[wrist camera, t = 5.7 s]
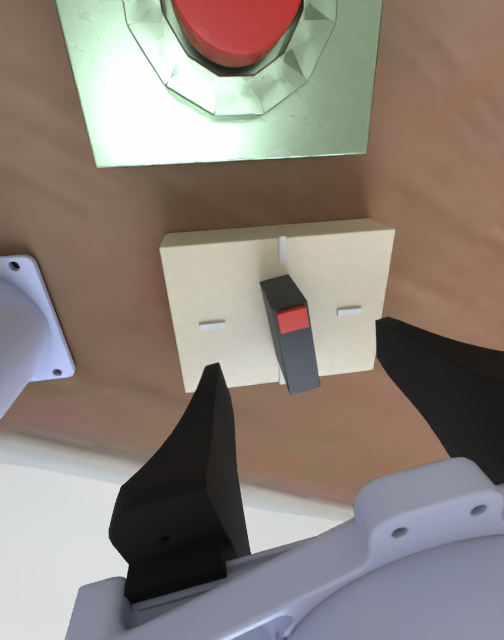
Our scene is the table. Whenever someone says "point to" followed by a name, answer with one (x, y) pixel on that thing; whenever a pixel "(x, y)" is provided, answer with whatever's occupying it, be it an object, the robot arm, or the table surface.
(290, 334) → the block
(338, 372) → the dial panel
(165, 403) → the table surface
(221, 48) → the button
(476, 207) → the table surface
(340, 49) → the push button base
